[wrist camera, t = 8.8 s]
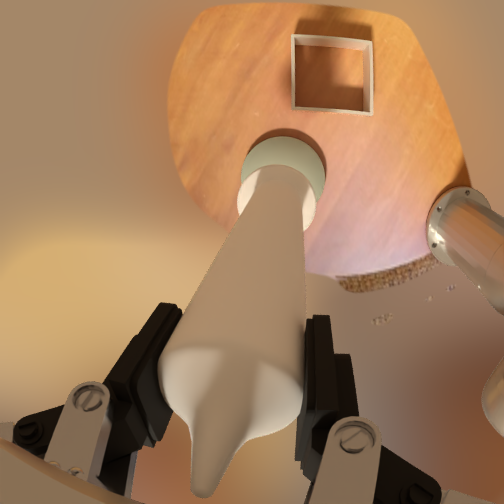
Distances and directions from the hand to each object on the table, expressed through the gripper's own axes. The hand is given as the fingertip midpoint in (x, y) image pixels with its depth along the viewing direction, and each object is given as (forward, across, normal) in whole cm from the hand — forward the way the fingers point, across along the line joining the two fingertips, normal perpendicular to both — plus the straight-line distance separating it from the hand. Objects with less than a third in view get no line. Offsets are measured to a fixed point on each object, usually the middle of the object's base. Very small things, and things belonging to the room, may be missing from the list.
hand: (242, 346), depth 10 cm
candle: (+20, 0, 0) cm, 20 cm away
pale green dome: (+33, 0, 0) cm, 33 cm away
